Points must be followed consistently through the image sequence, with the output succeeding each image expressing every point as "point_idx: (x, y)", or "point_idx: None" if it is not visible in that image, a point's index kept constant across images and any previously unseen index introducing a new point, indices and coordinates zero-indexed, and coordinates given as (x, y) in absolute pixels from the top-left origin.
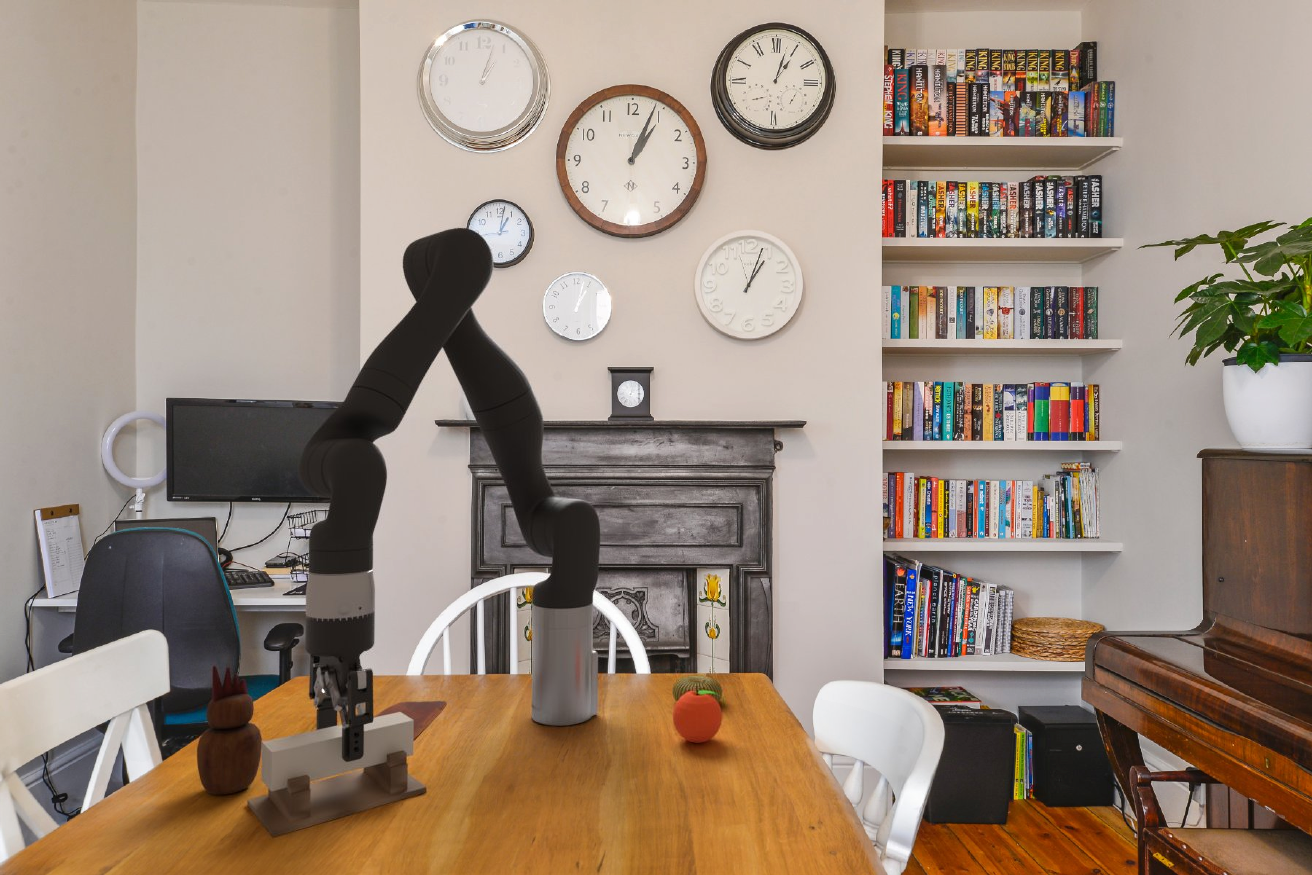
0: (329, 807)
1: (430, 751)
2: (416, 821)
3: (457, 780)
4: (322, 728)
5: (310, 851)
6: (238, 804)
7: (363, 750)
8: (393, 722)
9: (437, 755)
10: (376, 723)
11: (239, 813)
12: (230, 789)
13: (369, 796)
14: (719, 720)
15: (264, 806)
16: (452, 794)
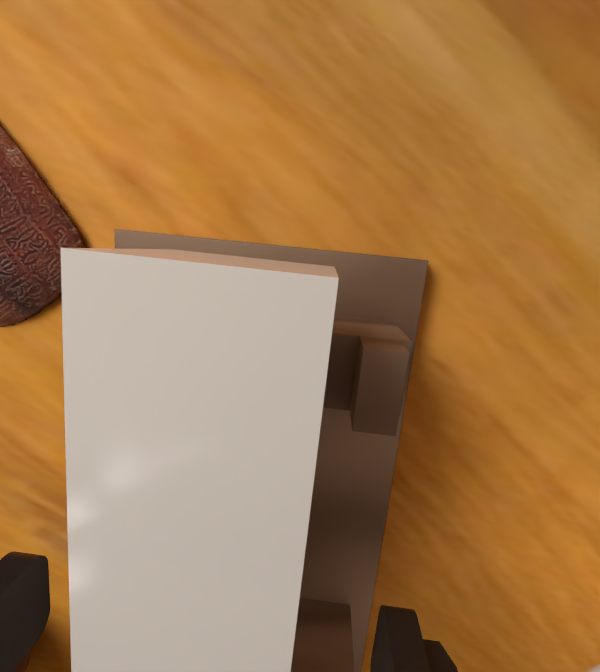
0: (329, 546)
1: (71, 23)
2: (591, 400)
3: (423, 111)
4: (2, 668)
5: (503, 654)
6: None
7: (419, 633)
8: (270, 416)
9: (132, 24)
10: (203, 507)
11: None
12: (28, 662)
13: (345, 434)
14: None
15: None
16: (517, 201)
